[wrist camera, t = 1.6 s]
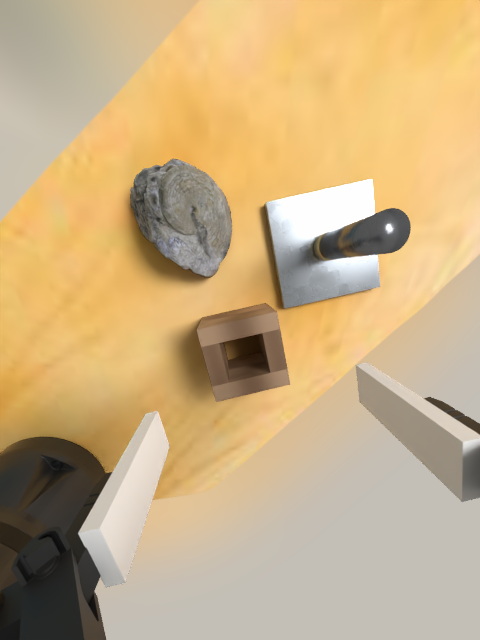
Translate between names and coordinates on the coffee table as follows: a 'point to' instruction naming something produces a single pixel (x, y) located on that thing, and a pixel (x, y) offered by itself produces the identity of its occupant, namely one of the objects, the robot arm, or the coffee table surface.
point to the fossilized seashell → (183, 215)
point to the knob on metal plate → (331, 242)
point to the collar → (246, 370)
